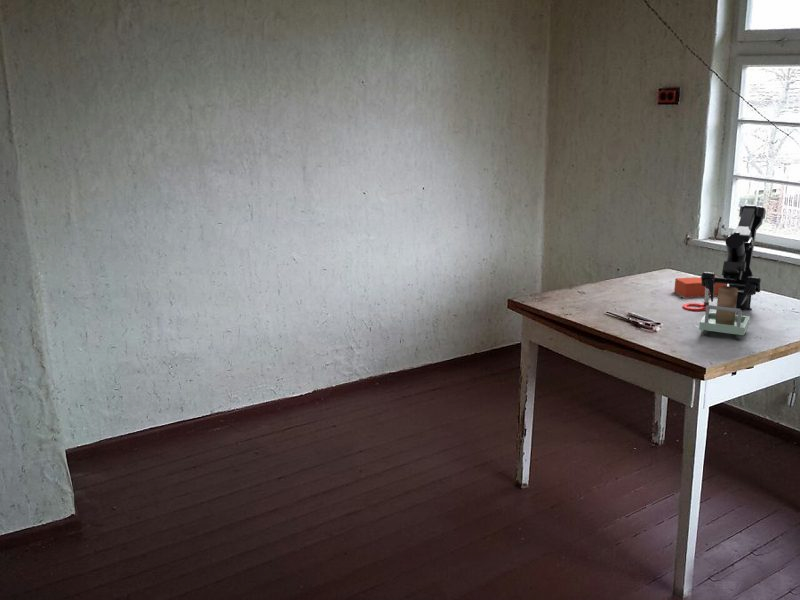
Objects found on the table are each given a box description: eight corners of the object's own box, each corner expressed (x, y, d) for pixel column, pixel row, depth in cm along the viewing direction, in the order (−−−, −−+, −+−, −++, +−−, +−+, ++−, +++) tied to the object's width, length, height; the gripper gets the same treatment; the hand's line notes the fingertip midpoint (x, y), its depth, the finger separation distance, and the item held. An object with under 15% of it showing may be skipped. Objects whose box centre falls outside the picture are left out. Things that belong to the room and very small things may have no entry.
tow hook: (684, 311, 287) (710, 311, 285) (685, 278, 283) (711, 278, 281) (681, 305, 295) (706, 305, 292) (682, 273, 291) (707, 273, 289)
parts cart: (705, 324, 270) (708, 294, 267) (748, 330, 263) (751, 299, 260) (698, 335, 258) (701, 304, 255) (743, 341, 251) (746, 310, 248)
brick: (684, 298, 304) (686, 283, 302) (673, 292, 312) (675, 278, 311) (726, 295, 306) (728, 281, 304) (714, 289, 315) (716, 275, 313)
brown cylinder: (723, 320, 263) (726, 285, 260) (738, 324, 258) (741, 289, 255) (711, 322, 261) (714, 287, 257) (726, 327, 256) (729, 291, 252)
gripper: (704, 249, 261) (695, 287, 255) (763, 254, 251) (755, 294, 245) (706, 266, 269) (697, 304, 263) (764, 272, 260) (756, 311, 254)
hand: (726, 302), depth 256 cm, fingers open, 9 cm apart
